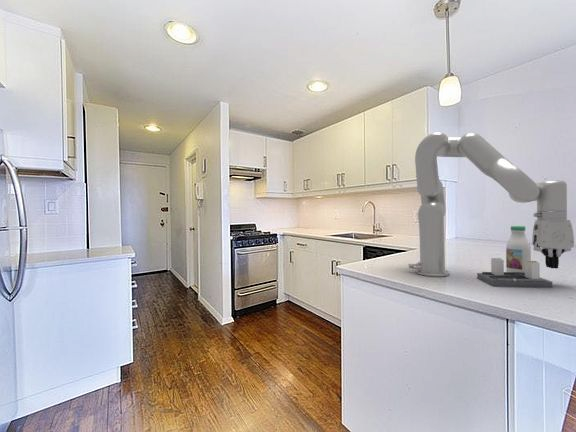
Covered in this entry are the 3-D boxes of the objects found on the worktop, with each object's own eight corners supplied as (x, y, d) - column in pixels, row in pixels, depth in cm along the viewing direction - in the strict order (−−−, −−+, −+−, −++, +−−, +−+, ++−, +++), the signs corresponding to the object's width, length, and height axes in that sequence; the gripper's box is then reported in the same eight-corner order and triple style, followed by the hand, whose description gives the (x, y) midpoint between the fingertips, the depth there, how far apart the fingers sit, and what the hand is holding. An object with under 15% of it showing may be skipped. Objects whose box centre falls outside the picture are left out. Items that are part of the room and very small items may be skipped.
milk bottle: (521, 272, 114) (520, 225, 113) (536, 276, 106) (535, 226, 106) (501, 272, 115) (501, 225, 114) (515, 276, 107) (514, 227, 106)
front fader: (531, 279, 95) (531, 262, 95) (524, 276, 98) (524, 260, 98) (539, 279, 94) (539, 262, 94) (532, 277, 98) (532, 260, 98)
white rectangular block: (496, 275, 102) (496, 259, 101) (491, 273, 105) (490, 257, 105) (503, 275, 101) (503, 259, 101) (498, 273, 105) (498, 257, 104)
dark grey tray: (493, 286, 96) (493, 279, 96) (477, 277, 107) (477, 271, 107) (552, 287, 92) (552, 279, 92) (529, 278, 104) (529, 271, 104)
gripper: (534, 217, 92) (535, 269, 93) (586, 215, 90) (586, 270, 90) (520, 216, 100) (520, 265, 100) (567, 215, 97) (568, 265, 97)
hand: (552, 267), depth 95 cm, fingers closed
